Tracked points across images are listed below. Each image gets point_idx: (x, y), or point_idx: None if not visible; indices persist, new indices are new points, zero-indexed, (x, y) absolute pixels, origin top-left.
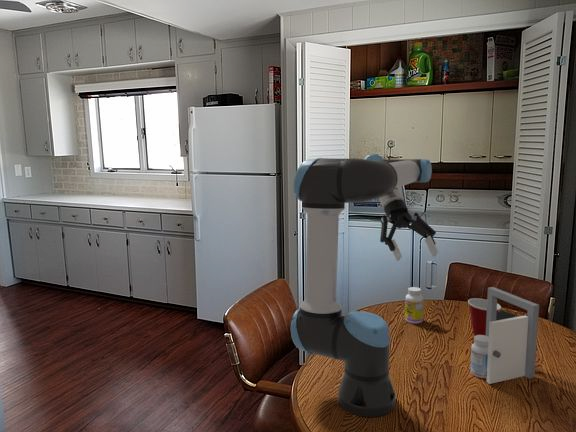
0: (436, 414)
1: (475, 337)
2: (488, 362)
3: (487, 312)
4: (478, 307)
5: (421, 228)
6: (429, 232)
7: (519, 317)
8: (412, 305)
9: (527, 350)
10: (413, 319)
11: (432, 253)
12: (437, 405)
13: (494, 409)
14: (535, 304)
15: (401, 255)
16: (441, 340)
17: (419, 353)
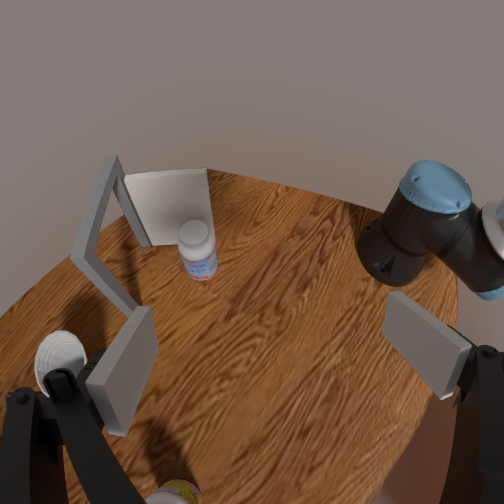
0: (319, 211)
1: (203, 237)
2: (212, 221)
3: (111, 286)
4: (83, 352)
5: (102, 471)
6: (60, 408)
7: (140, 176)
8: (186, 496)
9: (139, 217)
10: (190, 485)
11: (153, 349)
12: (310, 223)
13: (248, 201)
14: (107, 159)
15: (392, 293)
16: (181, 394)
17: (259, 359)
